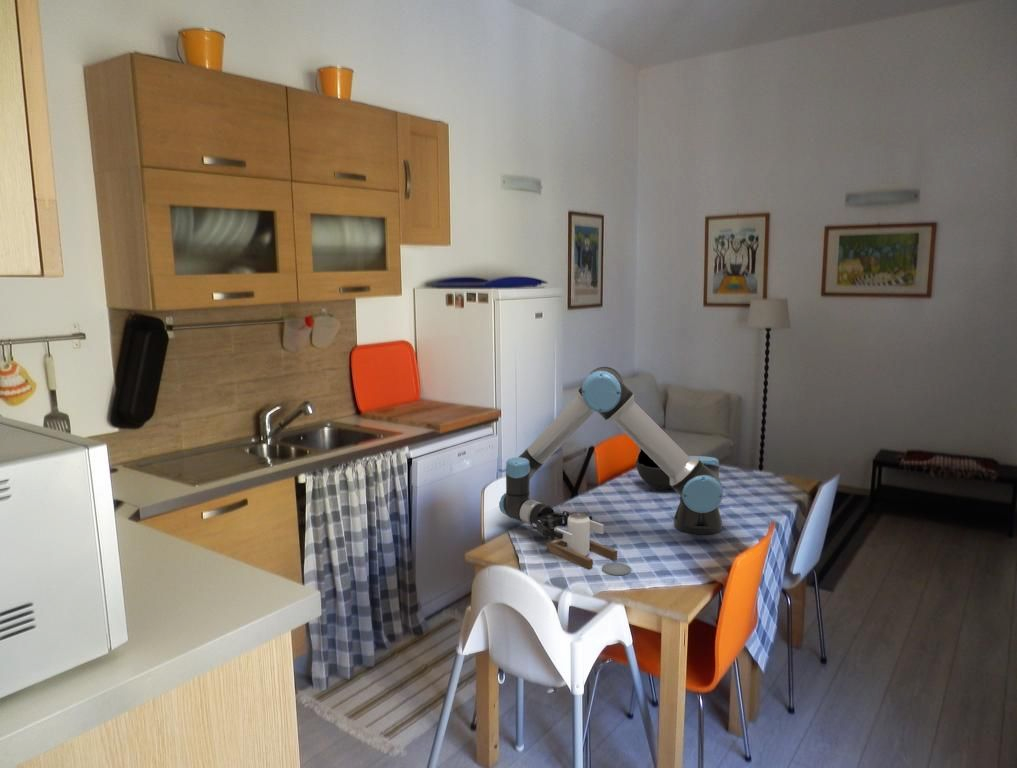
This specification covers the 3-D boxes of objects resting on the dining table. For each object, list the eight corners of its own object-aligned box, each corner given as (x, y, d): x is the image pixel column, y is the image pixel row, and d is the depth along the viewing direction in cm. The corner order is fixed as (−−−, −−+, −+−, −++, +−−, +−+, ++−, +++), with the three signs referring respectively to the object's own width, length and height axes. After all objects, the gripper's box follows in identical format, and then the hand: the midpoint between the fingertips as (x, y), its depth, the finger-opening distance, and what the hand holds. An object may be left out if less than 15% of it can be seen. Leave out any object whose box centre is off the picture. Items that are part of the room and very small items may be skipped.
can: (587, 549, 216) (588, 510, 214) (590, 557, 209) (591, 517, 207) (565, 549, 215) (566, 510, 214) (568, 558, 209) (568, 518, 207)
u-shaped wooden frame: (574, 541, 222) (574, 533, 221) (617, 559, 208) (617, 550, 208) (546, 550, 215) (546, 542, 214) (588, 569, 201) (588, 560, 201)
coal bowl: (669, 478, 290) (670, 432, 287) (699, 492, 272) (701, 443, 269) (625, 483, 283) (626, 436, 280) (653, 498, 264) (655, 447, 262)
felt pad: (615, 561, 206) (615, 560, 206) (637, 570, 200) (637, 569, 200) (595, 568, 201) (595, 567, 201) (617, 578, 195) (617, 576, 195)
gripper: (565, 518, 233) (616, 537, 216) (507, 535, 218) (556, 556, 202) (566, 495, 232) (616, 513, 215) (507, 511, 217) (557, 531, 200)
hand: (587, 534), depth 208 cm, fingers open, 12 cm apart
